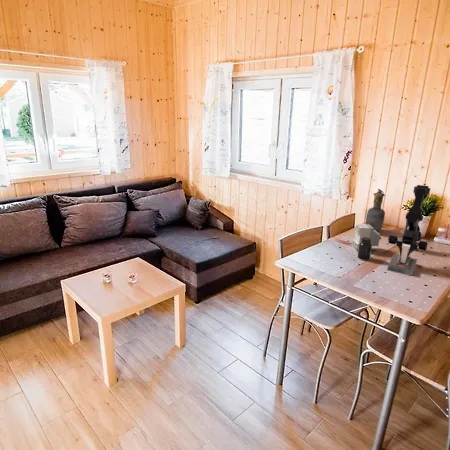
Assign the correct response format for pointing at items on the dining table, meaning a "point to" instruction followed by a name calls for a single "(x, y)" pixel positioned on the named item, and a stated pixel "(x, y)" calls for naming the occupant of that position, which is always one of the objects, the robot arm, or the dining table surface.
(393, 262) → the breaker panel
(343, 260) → the dining table surface
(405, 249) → the handle
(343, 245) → the dining table surface
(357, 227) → the circuit breaker
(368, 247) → the supplement bottle
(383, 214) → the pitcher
